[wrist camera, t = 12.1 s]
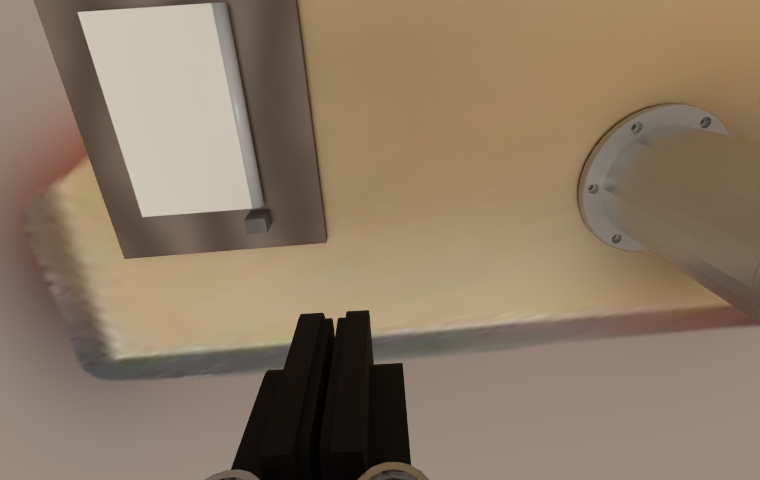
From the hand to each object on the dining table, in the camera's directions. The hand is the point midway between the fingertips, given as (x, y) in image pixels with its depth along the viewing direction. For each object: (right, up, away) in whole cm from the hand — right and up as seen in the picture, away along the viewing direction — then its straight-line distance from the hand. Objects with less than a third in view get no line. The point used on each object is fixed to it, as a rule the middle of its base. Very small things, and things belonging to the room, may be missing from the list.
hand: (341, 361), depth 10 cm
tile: (-13, +12, +19) cm, 26 cm away
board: (-13, +13, +21) cm, 28 cm away
